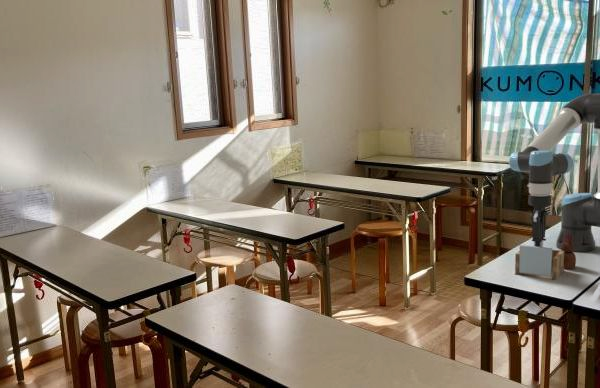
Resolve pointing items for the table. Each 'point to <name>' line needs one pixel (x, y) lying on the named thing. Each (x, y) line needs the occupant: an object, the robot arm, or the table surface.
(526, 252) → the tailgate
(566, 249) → the wooden figurine
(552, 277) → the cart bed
